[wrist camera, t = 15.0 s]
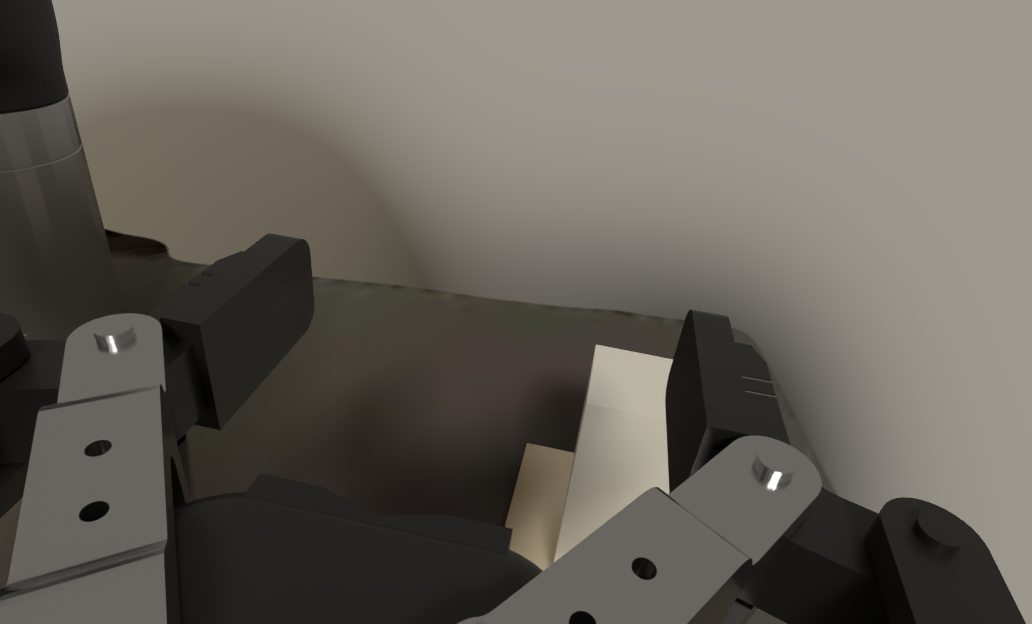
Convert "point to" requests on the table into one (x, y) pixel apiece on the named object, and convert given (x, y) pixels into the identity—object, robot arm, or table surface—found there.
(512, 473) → the table surface
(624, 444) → the block
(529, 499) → the pin dock
